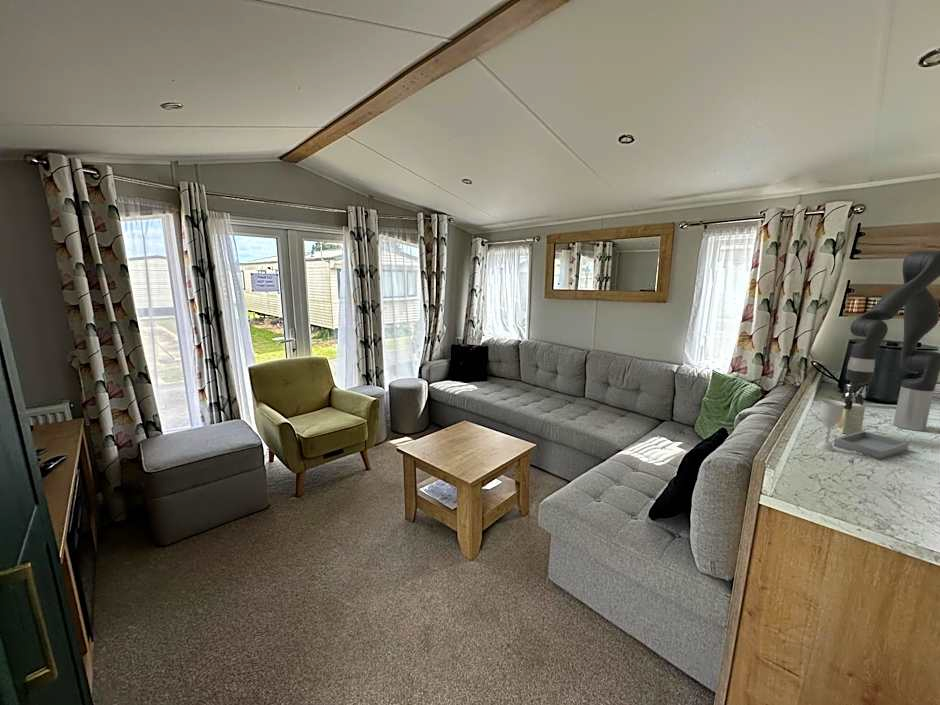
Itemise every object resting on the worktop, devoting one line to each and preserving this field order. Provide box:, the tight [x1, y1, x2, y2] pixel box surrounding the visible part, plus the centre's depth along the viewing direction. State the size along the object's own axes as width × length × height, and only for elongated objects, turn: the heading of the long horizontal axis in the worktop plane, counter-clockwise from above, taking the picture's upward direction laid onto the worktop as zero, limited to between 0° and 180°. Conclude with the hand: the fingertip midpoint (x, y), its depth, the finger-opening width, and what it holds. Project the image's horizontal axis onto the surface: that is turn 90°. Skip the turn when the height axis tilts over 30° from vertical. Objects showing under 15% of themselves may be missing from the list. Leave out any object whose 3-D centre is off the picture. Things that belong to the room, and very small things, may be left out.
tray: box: [833, 430, 910, 461], centre depth 144 cm, size 20×13×3 cm, turn 113°
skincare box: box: [836, 402, 866, 435], centre depth 158 cm, size 6×4×12 cm
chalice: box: [815, 398, 846, 452], centre depth 142 cm, size 7×7×18 cm
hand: (852, 407), depth 157 cm, fingers open, 8 cm apart
